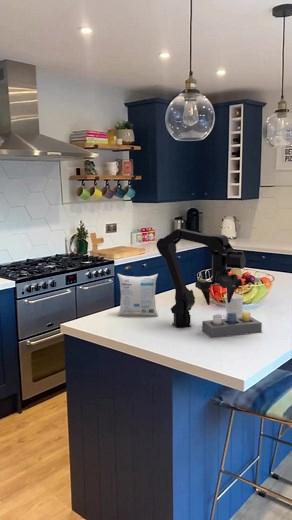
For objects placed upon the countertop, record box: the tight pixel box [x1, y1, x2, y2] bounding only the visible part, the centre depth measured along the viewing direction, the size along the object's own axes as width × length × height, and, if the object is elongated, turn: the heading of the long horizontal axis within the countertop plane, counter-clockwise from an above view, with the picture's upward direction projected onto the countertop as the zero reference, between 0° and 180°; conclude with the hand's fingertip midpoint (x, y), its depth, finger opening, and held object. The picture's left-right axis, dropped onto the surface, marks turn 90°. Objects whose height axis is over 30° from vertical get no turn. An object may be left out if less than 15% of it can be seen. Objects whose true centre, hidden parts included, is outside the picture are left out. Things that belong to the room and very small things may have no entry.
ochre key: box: [241, 311, 252, 323], centre depth 189 cm, size 4×4×4 cm
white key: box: [212, 313, 223, 326], centre depth 186 cm, size 4×4×4 cm
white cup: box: [225, 293, 244, 318], centre depth 207 cm, size 8×8×10 cm
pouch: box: [117, 273, 159, 317], centre depth 212 cm, size 8×19×20 cm, turn 79°
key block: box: [201, 316, 263, 339], centre depth 188 cm, size 22×10×4 cm, turn 106°
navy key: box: [226, 313, 236, 324], centre depth 187 cm, size 4×4×4 cm
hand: (218, 303), depth 185 cm, fingers open, 9 cm apart
